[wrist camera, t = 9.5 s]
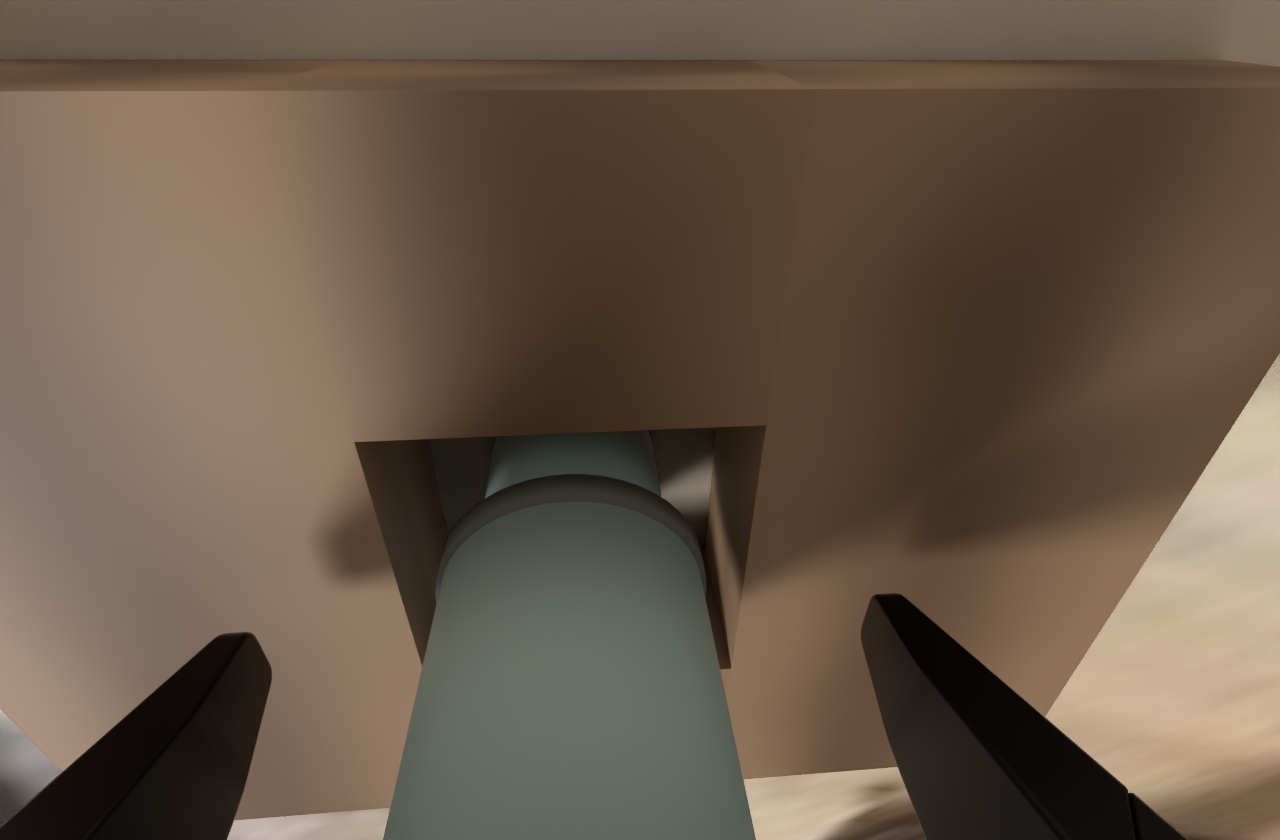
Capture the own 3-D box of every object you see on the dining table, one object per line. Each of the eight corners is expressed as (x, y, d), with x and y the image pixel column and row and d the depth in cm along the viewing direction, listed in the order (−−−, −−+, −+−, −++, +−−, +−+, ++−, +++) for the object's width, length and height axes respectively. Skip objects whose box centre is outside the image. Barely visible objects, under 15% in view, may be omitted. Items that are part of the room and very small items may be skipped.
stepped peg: (682, 366, 12) (816, 850, 5) (673, 530, 14) (758, 1008, 8) (452, 373, 11) (285, 898, 5) (482, 540, 14) (396, 1048, 7)
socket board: (1224, 60, 10) (1449, 87, 7) (956, 647, 17) (1018, 757, 15) (-242, 59, 8) (-600, 93, 6) (188, 699, 16) (117, 829, 14)
